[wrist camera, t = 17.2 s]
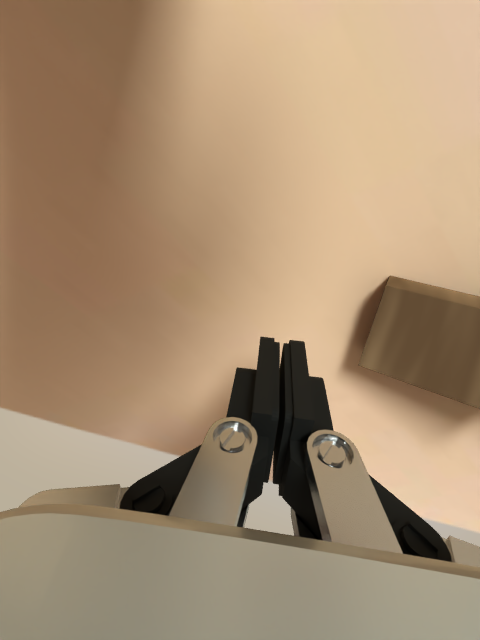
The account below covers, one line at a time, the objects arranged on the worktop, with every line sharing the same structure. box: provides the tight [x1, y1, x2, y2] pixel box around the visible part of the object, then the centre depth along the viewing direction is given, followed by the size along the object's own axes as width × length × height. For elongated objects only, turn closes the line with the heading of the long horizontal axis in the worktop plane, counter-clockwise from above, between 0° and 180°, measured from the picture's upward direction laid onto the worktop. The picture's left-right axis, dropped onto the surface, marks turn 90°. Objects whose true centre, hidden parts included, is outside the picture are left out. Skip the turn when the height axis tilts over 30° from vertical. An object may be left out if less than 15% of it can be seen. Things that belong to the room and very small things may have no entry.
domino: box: [359, 276, 480, 409], centre depth 15 cm, size 2×5×10 cm
